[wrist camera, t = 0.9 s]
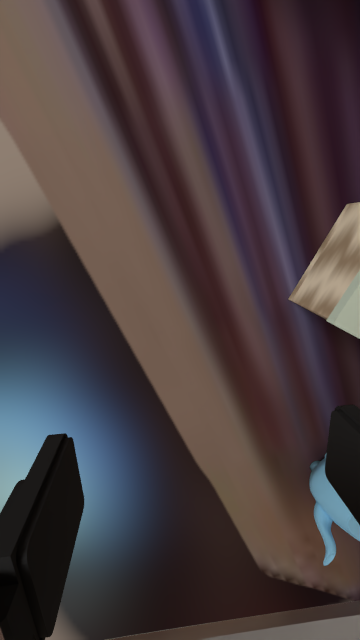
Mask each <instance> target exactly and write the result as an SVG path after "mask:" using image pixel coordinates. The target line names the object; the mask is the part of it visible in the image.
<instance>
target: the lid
mask: <svg viewBox="0 0 360 640" xmlns="http://www.w3.org/2000/svg"><path fill="white" fill-rule="evenodd" d="M326 321H327V322H329V323H331V324H333V325H335V326H337V327H338V328H340V329H342V330H344V331H346V332H348V333H350V334H351V335H353V336H355V337H357V338H359V339H360V270H359V272H358V273H357V275H356V276H355V278H354V279H353V281H352V282H351V284H350V285H349V287H348V288H347V290H346V291H345V293H344V294H343V296H342V297H341V299H340V300H339V302H338V303H337V305H336V307H335V308H334V310H333V311H332V313H331V314H330V316H329V317H328V319H327V320H326Z"/></svg>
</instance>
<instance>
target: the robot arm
mask: <svg viewBox="0 0 360 640" xmlns="http://www.w3.org/2000/svg"><path fill="white" fill-rule="evenodd" d="M325 474H326V477H327V479H328V481H329V482H330V484H331V485H332V487H333V488H334V490H335V491H336V492H337V494H338V495H339V497H340V498H341V500H342V501H343V502H344V504H345V505H346V507H347V508H348V509H349V511H350V512H351V514H352V515H353V517H354V518H355V519H356V521H357V522H358V524H359V525H360V409H359V408H358V407H356V406H355V405H344V406H337V407H336V408H335V411H332V413H331V420H330V428H329V437H328V445H327V454H326V463H325ZM83 508H84V495H83V490H82V484H81V479H80V474H79V469H78V463H77V458H76V453H75V447H74V442H73V439H72V437H70V438H68V437H67V434H55V435H48V436H47V438H46V440H45V442H44V443H43V446H42V447H41V449H40V451H39V453H38V455H37V457H36V459H35V461H34V463H33V465H32V467H31V469H30V471H29V473H28V475H27V477H26V479H25V480H21V481H19V482H18V483H17V484H16V486H15V487H14V489H13V491H12V493H11V495H10V497H9V498H8V500H7V502H6V504H5V506H4V508H3V509H2V512H1V513H0V640H45V637H50V636H51V635H52V633H53V630H54V626H55V622H56V618H57V614H58V610H59V606H60V602H61V598H62V594H63V590H64V585H65V582H66V578H67V573H68V569H69V565H70V561H71V557H72V553H73V549H74V545H75V541H76V537H77V533H78V529H79V525H80V521H81V516H82V513H83ZM108 640H360V601H354V602H347V603H340V604H333V605H326V606H319V607H313V608H306V609H299V610H292V611H286V612H279V613H272V614H266V615H259V616H253V617H247V618H239V619H233V620H226V621H220V622H214V623H207V624H201V625H194V626H188V627H182V628H176V629H169V630H163V631H156V632H150V633H143V634H137V635H131V636H125V637H119V638H114V639H108Z"/></svg>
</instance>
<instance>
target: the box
mask: <svg viewBox="0 0 360 640" xmlns="http://www.w3.org/2000/svg"><path fill="white" fill-rule="evenodd" d="M359 270H360V202H358V203H351V204H347V205H346V207H345V208H344V210H343V211H342V213H341V215H340V216H339V218H338V219H337V221H336V223H335V224H334V226H333V228H332V229H331V231H330V232H329V234H328V236H327V237H326V239H325V241H324V242H323V244H322V245H321V247H320V249H319V250H318V252H317V254H316V255H315V257H314V258H313V260H312V262H311V263H310V265H309V267H308V268H307V270H306V271H305V273H304V275H303V276H302V278H301V279H300V281H299V283H298V284H297V286H296V288H295V289H294V291H293V292H292V294H291V296H290V297H289V300H291V301H293V302H294V303H296V304H298V305H300V306H302V307H304V308H305V309H307V310H309V311H311V312H313V313H315V314H317V315H318V316H320V317H322V318H324V319H326V320H327V319H328V317H329V316H330V314H331V313H332V311H333V310H334V308H335V307H336V305H337V303H338V302H339V300H340V299H341V297H342V296H343V294H344V293H345V291H346V290H347V288H348V287H349V285H350V284H351V282H352V281H353V279H354V278H355V276H356V275H357V273H358V272H359Z"/></svg>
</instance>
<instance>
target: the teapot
mask: <svg viewBox="0 0 360 640" xmlns="http://www.w3.org/2000/svg"><path fill="white" fill-rule="evenodd" d="M326 454H327V453H326ZM326 454H325V458H324V459H323V460H322V461H314V462H313V463H312V464H311V465H310V469H311V471H312V472H311V474H310V482H309V485H310V490H311V492H312V495H313V496H314V498H315V500H316V504H315V507H314V518H315V522H316V524H317V527H318V529H319V531H320V533H321V535H322V537H323V540H324V543H325V547H326V554H325V559H324V563H323V564H324V566H326V565H328V564H329V563H330V562H331V561H332V560H333V559H334V557H335V554H336V544H335V541H334V539H333V536H332V533H331V524H332V521H334V522H335V523H336V524H337V525H338V526H340V527H341V528H342V529H343V530H345V531H346V532H347V533H349V534H350V535H351V536H353V537H354V538H355V539H357V540H358V541H360V525H359V524H358V522H357V521H356V519H355V518H354V517H353V515H352V514H351V512H350V511H349V509H348V508H347V507H346V505H345V504H344V502H343V501H342V500H341V498H340V497H339V495H338V494H337V492H336V491H335V490H334V488H333V487H332V485H331V484H330V482H329V481H328V479H327V477H326V474H325V463H326Z"/></svg>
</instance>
